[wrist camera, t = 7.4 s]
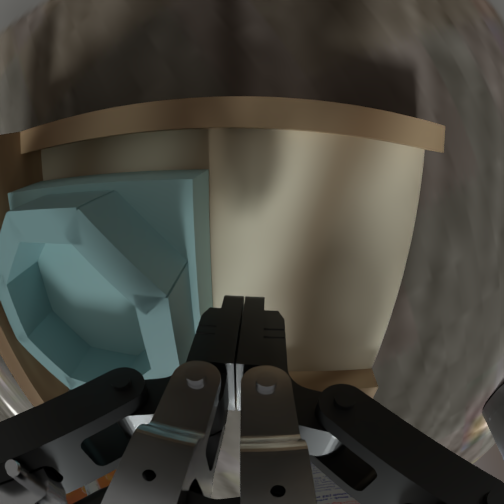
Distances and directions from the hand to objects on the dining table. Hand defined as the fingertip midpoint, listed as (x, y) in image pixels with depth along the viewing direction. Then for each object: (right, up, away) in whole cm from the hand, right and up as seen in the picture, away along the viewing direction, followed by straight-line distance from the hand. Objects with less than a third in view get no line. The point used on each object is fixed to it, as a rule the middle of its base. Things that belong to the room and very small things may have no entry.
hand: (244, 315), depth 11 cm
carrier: (-7, +2, +3) cm, 8 cm away
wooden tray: (-3, +2, +4) cm, 5 cm away
